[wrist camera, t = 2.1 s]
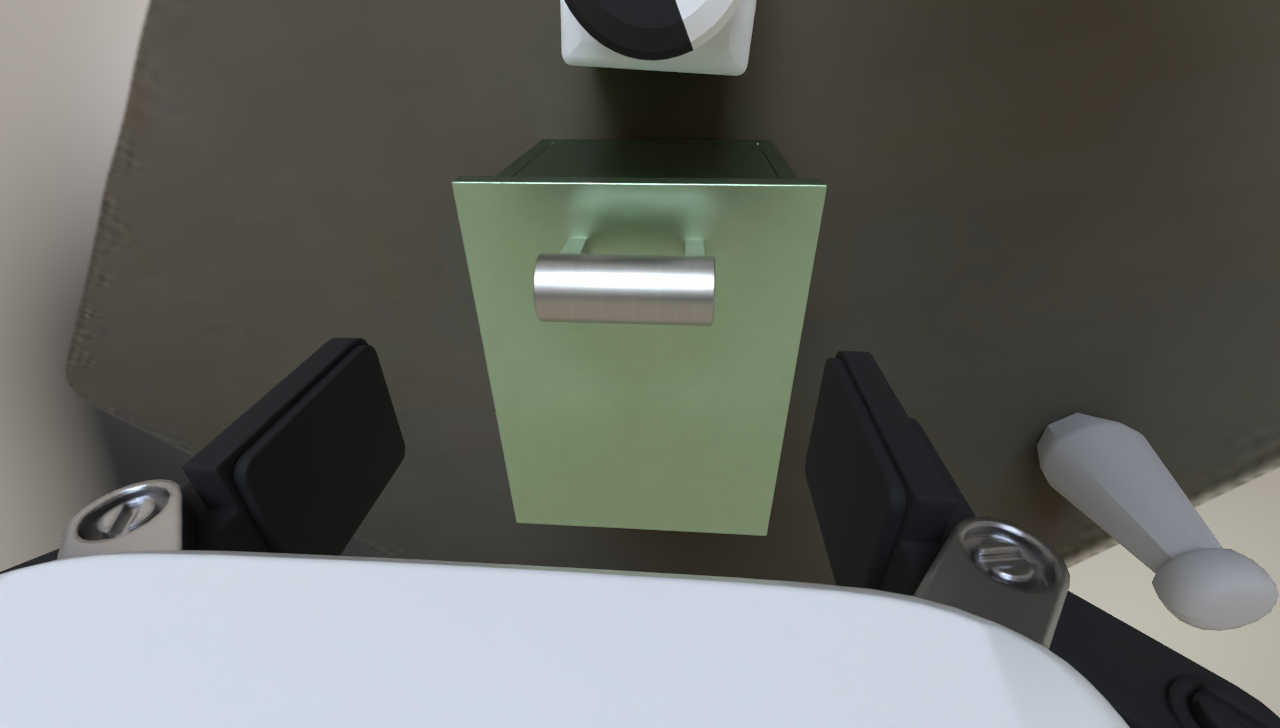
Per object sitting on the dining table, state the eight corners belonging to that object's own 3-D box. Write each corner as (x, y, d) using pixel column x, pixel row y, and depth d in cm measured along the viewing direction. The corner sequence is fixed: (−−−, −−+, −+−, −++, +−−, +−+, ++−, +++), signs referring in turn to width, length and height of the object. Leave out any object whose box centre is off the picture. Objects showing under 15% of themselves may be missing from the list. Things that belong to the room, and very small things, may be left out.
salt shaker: (1060, 392, 35) (1232, 562, 24) (1141, 413, 35) (1347, 589, 24) (1006, 458, 38) (1136, 634, 27) (1081, 475, 38) (1239, 657, 27)
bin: (541, 139, 29) (464, 199, 19) (771, 140, 28) (817, 202, 18) (565, 380, 37) (520, 510, 27) (743, 386, 36) (764, 522, 26)
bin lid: (459, 175, 18) (388, 222, 14) (822, 178, 18) (868, 229, 13) (520, 510, 27) (488, 604, 23) (764, 523, 26) (780, 622, 22)
